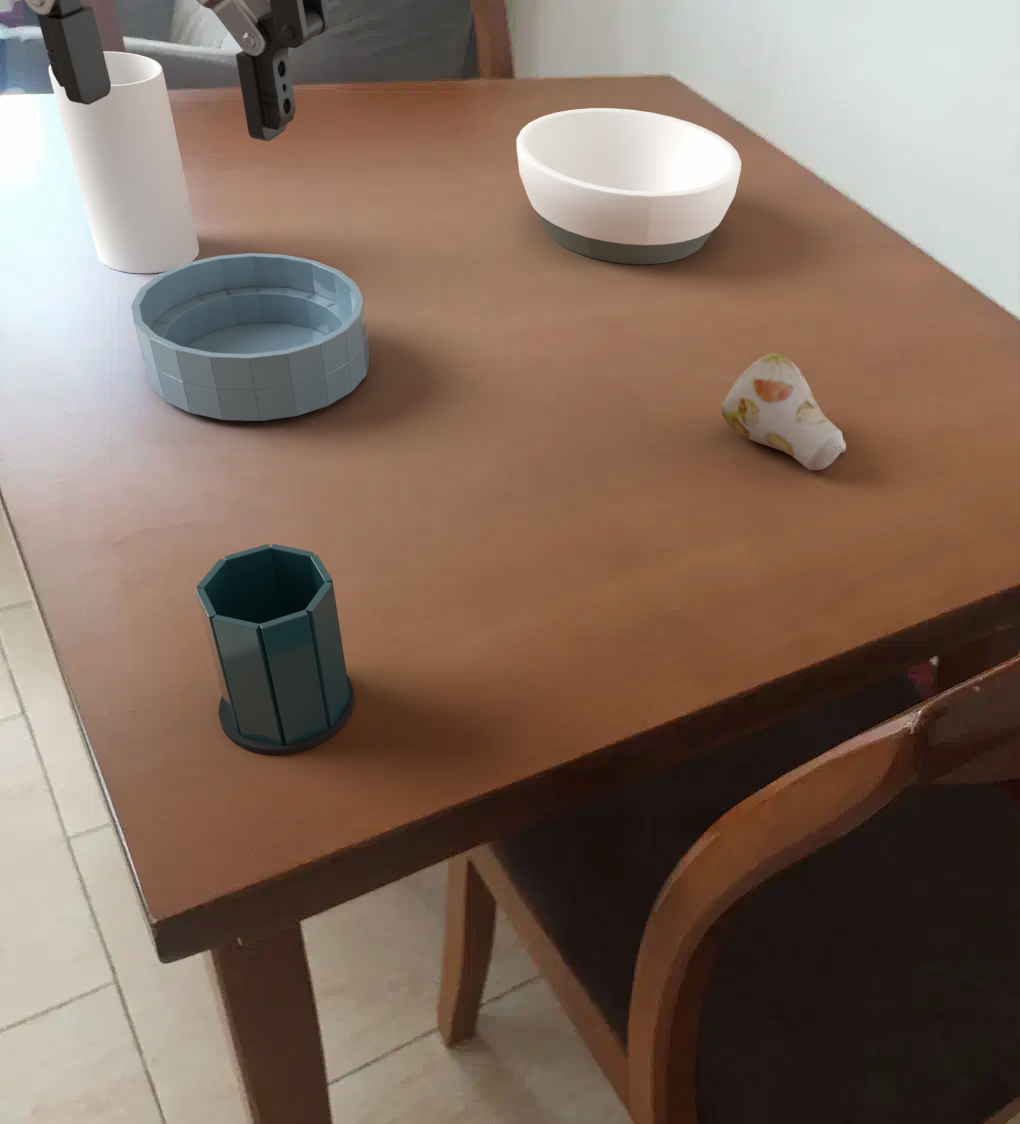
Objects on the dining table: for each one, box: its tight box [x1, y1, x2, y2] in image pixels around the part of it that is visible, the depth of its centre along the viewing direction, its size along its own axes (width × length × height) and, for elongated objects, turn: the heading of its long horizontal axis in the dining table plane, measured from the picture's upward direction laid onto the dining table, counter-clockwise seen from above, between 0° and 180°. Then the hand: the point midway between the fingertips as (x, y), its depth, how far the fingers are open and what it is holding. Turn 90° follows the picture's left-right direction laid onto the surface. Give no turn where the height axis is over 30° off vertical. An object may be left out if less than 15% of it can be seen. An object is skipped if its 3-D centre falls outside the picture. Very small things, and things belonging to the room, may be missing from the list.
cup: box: [48, 50, 200, 274], centre depth 96 cm, size 8×8×16 cm
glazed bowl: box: [130, 252, 371, 422], centre depth 87 cm, size 16×16×6 cm
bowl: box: [515, 107, 742, 265], centre depth 115 cm, size 22×22×8 cm
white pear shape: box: [720, 352, 847, 471], centre depth 89 cm, size 8×10×10 cm
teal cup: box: [195, 543, 350, 745], centre depth 61 cm, size 6×6×9 cm
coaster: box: [218, 674, 355, 756], centre depth 64 cm, size 7×7×1 cm
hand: (180, 116), depth 51 cm, fingers open, 8 cm apart
